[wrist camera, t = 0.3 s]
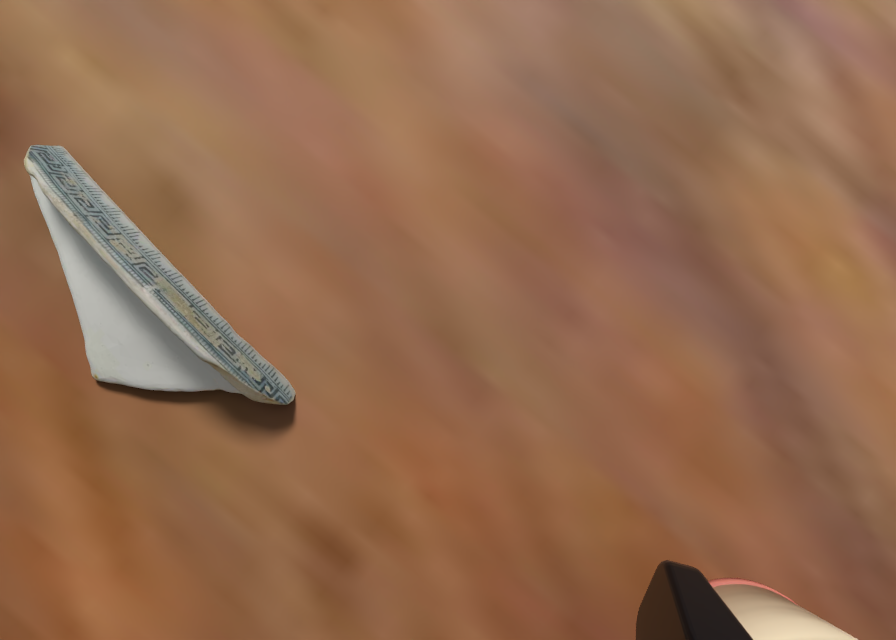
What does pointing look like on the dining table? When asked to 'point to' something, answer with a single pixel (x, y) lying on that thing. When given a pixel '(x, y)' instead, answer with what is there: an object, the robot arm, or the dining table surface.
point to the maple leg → (772, 613)
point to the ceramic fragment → (139, 296)
